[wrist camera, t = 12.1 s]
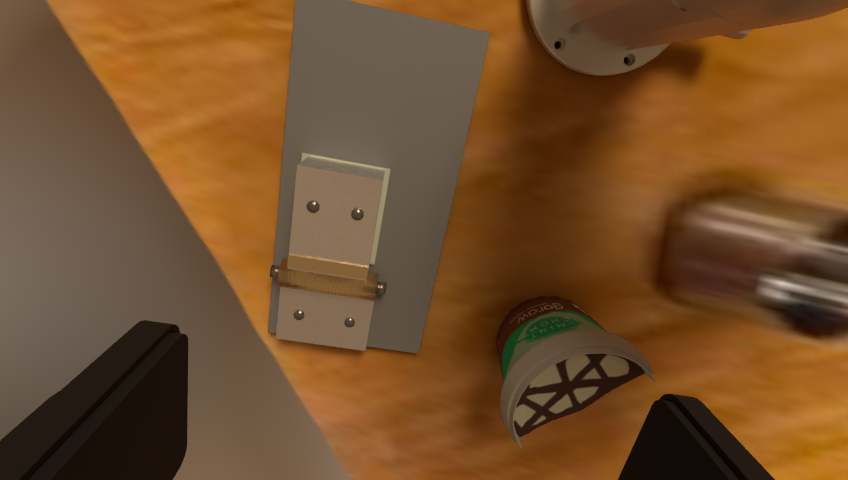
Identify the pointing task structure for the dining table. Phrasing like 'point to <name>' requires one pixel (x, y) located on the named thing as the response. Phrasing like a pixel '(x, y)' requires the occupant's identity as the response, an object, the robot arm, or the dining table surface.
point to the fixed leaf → (325, 307)
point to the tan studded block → (334, 217)
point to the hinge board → (383, 138)
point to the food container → (558, 363)
